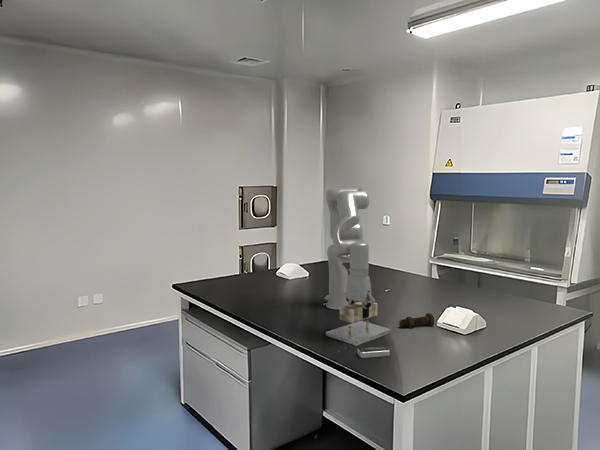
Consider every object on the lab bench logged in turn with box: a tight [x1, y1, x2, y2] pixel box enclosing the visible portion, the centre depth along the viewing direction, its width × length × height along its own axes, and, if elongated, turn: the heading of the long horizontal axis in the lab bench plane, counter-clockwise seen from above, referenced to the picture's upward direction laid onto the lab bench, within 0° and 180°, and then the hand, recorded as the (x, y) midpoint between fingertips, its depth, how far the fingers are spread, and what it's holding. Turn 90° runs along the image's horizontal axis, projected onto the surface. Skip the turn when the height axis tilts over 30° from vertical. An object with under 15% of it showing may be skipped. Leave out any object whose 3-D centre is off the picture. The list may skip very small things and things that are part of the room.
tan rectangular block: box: [339, 301, 379, 324], centre depth 187 cm, size 6×16×5 cm, turn 132°
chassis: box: [325, 319, 392, 347], centre depth 188 cm, size 16×22×4 cm
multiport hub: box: [357, 346, 391, 359], centre depth 166 cm, size 4×11×2 cm, turn 100°
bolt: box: [398, 312, 435, 329], centre depth 198 cm, size 6×5×15 cm
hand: (358, 315), depth 187 cm, fingers closed on tan rectangular block, 6 cm apart
